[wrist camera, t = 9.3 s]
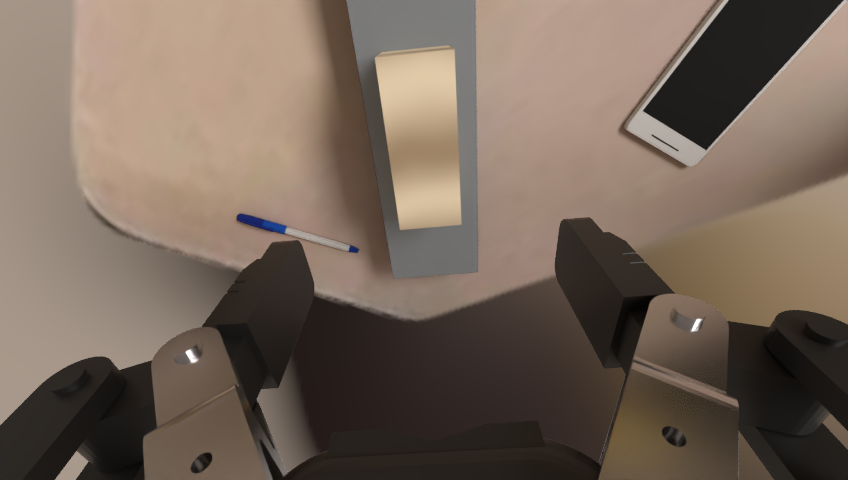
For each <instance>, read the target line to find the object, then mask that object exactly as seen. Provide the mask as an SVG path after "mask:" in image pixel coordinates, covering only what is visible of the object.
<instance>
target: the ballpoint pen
mask: <svg viewBox="0 0 848 480" xmlns="http://www.w3.org/2000/svg"><path fill="white" fill-rule="evenodd" d="M237 220H238V221H240V222H242V223H245V224H248V225H251V226H255V227H258V228H262V229H265V230H268V231H271V232H273V231H275V232H278V233H282V234H288V235H291V236H295V237H298V238H302V239H305V240H309V241H312V242H316V243H319V244H323V245H326V246H330V247H333V248H337V249H340V250H344V251H347V252H348V251H349V252H355V253H358V250H359V249H357V248H355V247H353V246H351V245H348V244H344V243H341V242H337V241H334V240H330V239H327V238H323V237H320V236H316V235H313V234H310V233H306V232H303V231H299V230H296V229H292V228H289V227H286V226H284V225H281V224H280V225H279V224H277V223H274V222H273V223H272V222H270V221H267V220H266V221H265V220H263V219H260V218H256V217H253V216H249V215H244V214H238V215H237Z"/></svg>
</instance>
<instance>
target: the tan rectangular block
mask: <svg viewBox="0 0 848 480" xmlns="http://www.w3.org/2000/svg"><path fill="white" fill-rule="evenodd" d="M375 64H376V70H377V77H378V84H379V91H380V98H381V104H382V111H383V118H384V125H385V132H386V138H387V145H388V152H389V159H390V165H391V172H392V179H393V186H394V193H395V199H396V206H397V213H398V220H399V227H400V230H406V229H418V228H429V227H441V226H453V225H462V224H461V198H460V173H459V148H458V123H457V97H456V72H455V49H453V48H452V47H451V46H449V45H445V46H435V47H426V48H416V49H407V50H397V51H388V52H381V53H380V54H379V55H377V56H376V57H375Z"/></svg>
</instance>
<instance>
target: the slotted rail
mask: <svg viewBox="0 0 848 480" xmlns="http://www.w3.org/2000/svg"><path fill="white" fill-rule="evenodd" d="M346 1H347V7H348V13H349V19H350V25H351V31H352V37H353V43H354V48H355V54H356V60H357V66H358V72H359V78H360V84H361V90H362V96H363V101H364V107H365V113H366V119H367V125H368V131H369V137H370V143H371V149H372V154H373V160H374V166H375V172H376V178H377V184H378V190H379V196H380V202H381V208H382V213H383V219H384V225H385V231H386V237H387V243H388V249H389V255H390V261H391V266H392V272H393V278H394V279H399V278H412V277H424V276H437V275H449V274H462V273H474V272H478V205H477V103H476V1H475V0H346ZM445 45H449V46H451V47H452V48H453V49H455V72H456V97H457V123H458V148H459V173H460V198H461V224H462V225H453V226H441V227H429V228H418V229H406V230H400V227H399V220H398V213H397V206H396V199H395V193H394V186H393V179H392V172H391V165H390V159H389V152H388V145H387V138H386V132H385V125H384V118H383V111H382V104H381V98H380V91H379V84H378V77H377V70H376V64H375V57H376V56H377V55H379V54H380V53H381V52H387V51H397V50H407V49H416V48H426V47H435V46H445Z"/></svg>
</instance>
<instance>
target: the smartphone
mask: <svg viewBox="0 0 848 480" xmlns="http://www.w3.org/2000/svg"><path fill="white" fill-rule="evenodd" d="M846 1H847V0H719V1H718V2H717V3H716V5H715V6H714V7H713V9H712V10H711V11H710V13H709V14H708V15H707V16H706V18H705V19H704V20H703V22H702V23H701V24H700V26H699V27H698V28H697V29H696V31H695V32H694V33H693V35H692V36H691V37H690V39H689V40H688V41H687V43H686V44H685V45H684V46H683V48H682V49H681V50H680V52H679V53H678V54H677V56H676V57H675V58H674V59H673V61H672V62H671V63H670V65H669V66H668V67H667V69H666V70H665V71H664V72H663V74H662V75H661V76H660V78H659V79H658V80H657V82H656V83H655V84H654V86H653V87H652V88H651V89H650V91H649V92H648V93H647V95H646V96H645V97H644V99H643V100H642V101H641V102H640V104H639V105H638V106H637V108H636V109H635V110H634V112H633V113H632V114H631V115H630V117H629V118H628V120H627V121H626V123H625V125H624V129H625V130H627V131H629V132H630V133H632V134H634V135H636V136H637V137H639V138H641V139H642V140H644V141H646V142H647V143H649V144H651V145H652V146H654V147H656V148H658V149H659V150H661V151H663V152H664V153H666V154H668V155H669V156H671V157H673V158H675V159H676V160H678V161H680V162H681V163H683V164H685V165H686V166H688V167H692V166H694V165H696V164H697V163H698V162H699V161H700V160H701V159H702V158H703V157H704V156H705V154H706V153H707V152H708V151H709V150H710V149H711V148H712V147H713V146H714V145H715V144H716V143H717V141H718V140H719V139H720V138H721V137H722V136H723V135H724V134H725V133H726V132H727V131H728V129H729V128H730V127H731V126H732V125H733V124H734V123H735V122H736V121H737V120H738V119H739V118H740V116H741V115H742V114H743V113H744V112H745V111H746V110H747V109H748V108H749V107H750V106H751V105H752V103H753V102H754V101H755V100H756V99H757V98H758V97H759V96H760V95H761V94H762V93H763V91H764V90H765V89H766V88H767V87H768V86H769V85H770V84H771V83H772V82H773V81H774V80H775V78H776V77H777V76H778V75H779V74H780V73H781V72H782V71H783V70H784V69H785V68H786V67H787V65H788V64H789V63H790V62H791V61H792V60H793V59H794V58H795V57H796V56H797V55H798V54H799V52H800V51H801V50H802V49H803V48H804V47H805V46H806V45H807V44H808V43H809V42H810V40H811V39H812V38H813V37H814V36H815V35H816V34H817V33H818V32H819V31H820V30H821V29H822V27H823V26H824V25H825V24H826V23H827V22H828V21H829V20H830V19H831V18H832V17H833V16H834V14H835V13H836V12H837V11H838V10H839V9H840V8H841V7H842V6H843V5H844V4H845V3H846Z"/></svg>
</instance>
